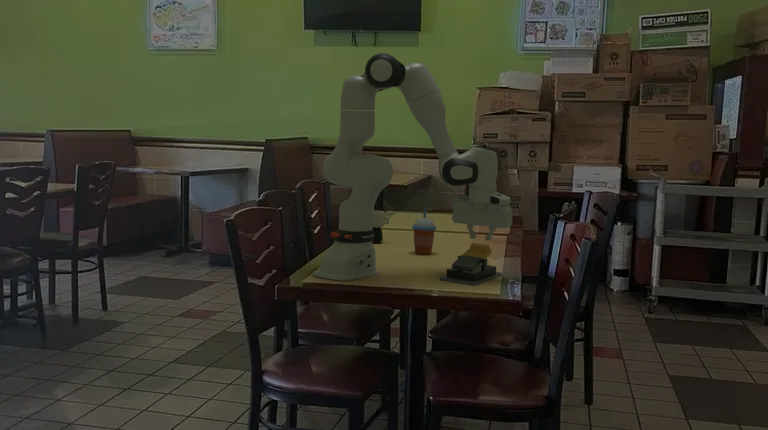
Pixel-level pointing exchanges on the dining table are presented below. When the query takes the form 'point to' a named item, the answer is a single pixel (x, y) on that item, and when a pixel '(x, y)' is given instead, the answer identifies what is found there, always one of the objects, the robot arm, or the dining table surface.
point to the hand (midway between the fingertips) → (480, 239)
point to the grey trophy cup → (378, 224)
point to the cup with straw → (423, 235)
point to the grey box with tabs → (472, 274)
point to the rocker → (472, 257)
